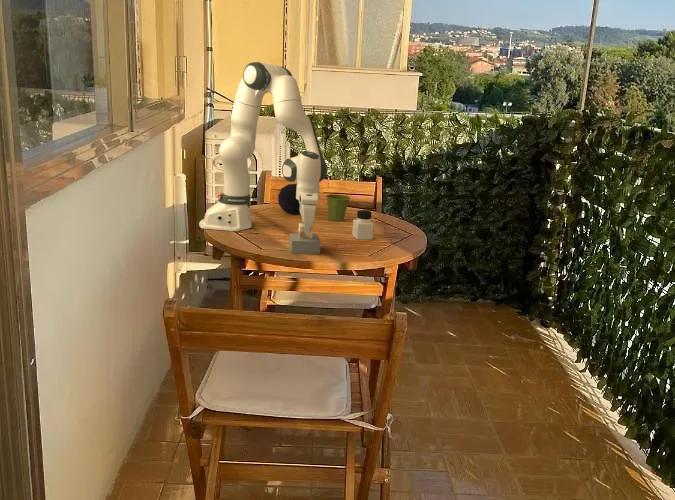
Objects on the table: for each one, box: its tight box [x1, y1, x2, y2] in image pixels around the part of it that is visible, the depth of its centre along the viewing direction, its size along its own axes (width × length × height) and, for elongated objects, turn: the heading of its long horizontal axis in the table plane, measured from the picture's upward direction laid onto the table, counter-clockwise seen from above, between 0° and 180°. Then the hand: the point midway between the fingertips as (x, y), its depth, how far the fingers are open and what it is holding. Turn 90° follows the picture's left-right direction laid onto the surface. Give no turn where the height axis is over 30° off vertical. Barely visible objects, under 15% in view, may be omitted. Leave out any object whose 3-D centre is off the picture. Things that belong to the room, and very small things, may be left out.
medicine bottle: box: [351, 209, 375, 241], centre depth 271 cm, size 7×7×12 cm
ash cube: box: [297, 222, 314, 239], centre depth 247 cm, size 5×5×5 cm
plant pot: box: [325, 193, 352, 222], centre depth 299 cm, size 12×12×11 cm
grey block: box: [288, 232, 321, 255], centre depth 248 cm, size 11×11×5 cm
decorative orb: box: [277, 183, 300, 215], centre depth 306 cm, size 14×15×15 cm
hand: (305, 229), depth 247 cm, fingers open, 8 cm apart
